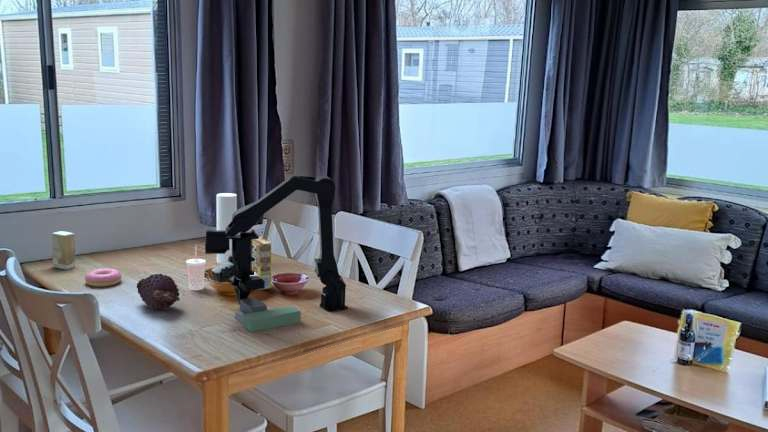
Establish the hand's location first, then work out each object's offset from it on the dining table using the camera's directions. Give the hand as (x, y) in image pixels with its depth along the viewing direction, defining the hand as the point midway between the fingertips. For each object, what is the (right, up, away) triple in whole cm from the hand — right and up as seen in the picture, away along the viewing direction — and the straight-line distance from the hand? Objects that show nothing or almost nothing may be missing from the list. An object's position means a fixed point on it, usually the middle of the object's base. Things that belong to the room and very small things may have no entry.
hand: (241, 305), depth 196 cm
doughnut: (-49, +4, +21) cm, 53 cm away
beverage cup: (-19, +3, +20) cm, 27 cm away
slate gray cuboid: (+4, -3, -6) cm, 8 cm away
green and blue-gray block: (+9, -3, -7) cm, 12 cm away
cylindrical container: (-17, +9, +52) cm, 56 cm away
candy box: (+1, +3, +25) cm, 25 cm away
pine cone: (-24, -1, 0) cm, 24 cm away
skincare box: (-69, +8, +36) cm, 78 cm away
